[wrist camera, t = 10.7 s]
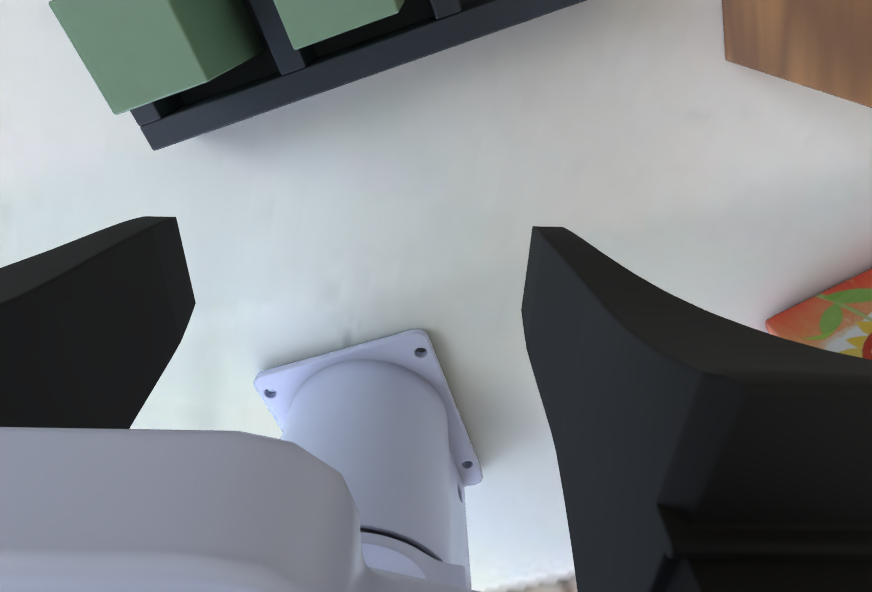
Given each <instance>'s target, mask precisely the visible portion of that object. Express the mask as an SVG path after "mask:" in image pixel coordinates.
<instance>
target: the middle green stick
mask: <svg viewBox="0 0 872 592" xmlns="http://www.w3.org/2000/svg"><path fill="white" fill-rule="evenodd" d="M404 1H405V0H274V3H275V5H276V8H277V10H278V13H279V15H280V17H281V20H282V22H283V25H284V27H285V29H286V32H287V34H288V37H289V39H290V41H291V44H292V46H293V48H294V50H297V49H300V48H303V47H305V46H308V45H311V44H314V43H316V42H319V41H322V40H325V39H327V38H330V37H333V36H336V35H338V34H341V33H344V32H347V31H349V30H352V29H355V28H358V27H360V26H363V25H366V24H369V23H371V22H374V21H377V20H380V19H383V18H385V17H388V16H391V15H394V14H396V13H398V12H399V10H400V8H401V7H402V5H403V3H404Z"/></svg>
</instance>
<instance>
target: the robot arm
mask: <svg viewBox="0 0 872 592" xmlns="http://www.w3.org/2000/svg"><path fill="white" fill-rule="evenodd" d="M194 306H195V299H194V294H193V290H192V285H191V281H190V276H189V272H188V268H187V263H186V259H185V254H184V250H183V246H182V241H181V237H180V232H179V228H178V224H177V219H176V217H151V216H145V217H140V218H135V219H132V220H128V221H125V222H122V223H119V224H116V225H113V226H111V227H108V228H105V229H103V230H100V231H98V232H95V233H92V234H90V235H87V236H85V237H82V238H80V239H77V240H75V241H72V242H70V243H67V244H64V245H62V246H59V247H57V248H54V249H52V250H49V251H46V252H43V253H41V254H38V255H35V256H32V257H30V258H27V259H24V260H21V261H19V262H16V263H13V264H10V265H8V266H5V267H2V268H0V592H479V591H475V590H471V577H470V563H469V549H468V535H467V521H466V507H465V493H464V487H466V486H471V485H475V484H478V483H479V482H481V481H482V479H483V475H482V469H481V467H480V464H479V462H478V459H477V457H476V454H475V452H474V449H473V447H472V444H471V442H470V439H469V437H468V434H467V432H466V429H465V427H464V424H463V422H462V419H461V417H460V414H459V411H458V409H457V406H456V404H455V401H454V399H453V396H452V394H451V391H450V389H449V386H448V384H447V381H446V379H445V376H444V374H443V371H442V369H441V366H440V364H439V361H438V359H437V356H436V354H435V351H434V349H433V346H432V344H431V341H430V339H429V336H428V334H427V333H426V332H425V331H423V330H420V329H413V330H409V331H406V332H402V333H399V334H395V335H391V336H388V337H384V338H380V339H377V340H373V341H370V342H366V343H362V344H359V345H355V346H352V347H348V348H344V349H341V350H337V351H334V352H330V353H326V354H323V355H319V356H315V357H312V358H308V359H305V360H301V361H297V362H294V363H290V364H287V365H283V366H279V367H276V368H272V369H269V370H265V371H262V372H260V373H258V374H257V375H256V377H255V380H254V386H255V388H256V390H257V391H258V393H259V395H260V396H261V398H262V399H263V401H264V403H265V404H266V406H267V407H268V409H269V411H270V412H271V414H272V415H273V417H274V419H275V420H276V422H277V424H278V425H279V427H280V428H281V430H282V432H283V433H282V436H281V439H277V438H272V437H267V436H262V435H257V434H252V433H247V432H242V431H214V430H151V429H129V428H130V426H131V425H132V423H133V421H134V420H135V418H136V416H137V415H138V413H139V411H140V410H141V408H142V406H143V405H144V403H145V401H146V400H147V398H148V396H149V395H150V393H151V391H152V390H153V388H154V386H155V385H156V383H157V381H158V380H159V378H160V376H161V375H162V373H163V372H164V370H165V368H166V366H167V365H168V363H169V361H170V360H171V358H172V356H173V354H174V353H175V351H176V349H177V347H178V346H179V344H180V342H181V340H182V338H183V335H184V333H185V330H186V328H187V325H188V323H189V320H190V317H191V315H192V312H193V309H194ZM521 311H522V319H523V327H524V334H525V341H526V348H527V352H528V355H529V359H530V362H531V366H532V369H533V372H534V376H535V379H536V383H537V386H538V389H539V393H540V396H541V399H542V403H543V406H544V409H545V413H546V416H547V419H548V423H549V426H550V429H551V433H552V437H553V441H554V445H555V449H556V454H557V459H558V465H559V471H560V477H561V482H562V488H563V494H564V500H565V506H566V513H567V519H568V526H569V532H570V539H571V545H572V553H573V560H574V567H575V575H576V582H577V589H578V592H872V360H870V359H866V358H861V357H856V356H852V355H847V354H842V353H837V352H833V351H828V350H824V349H820V348H817V347H813V346H810V345H806V344H802V343H799V342H795V341H792V340H788V339H784V338H781V337H778V336H775V335H771V334H768V333H765V332H762V331H759V330H756V329H753V328H750V327H747V326H745V325H742V324H739V323H737V322H734V321H731V320H728V319H726V318H723V317H720V316H718V315H715V314H713V313H711V312H708V311H706V310H703V309H701V308H699V307H697V306H695V305H693V304H690V303H688V302H686V301H684V300H682V299H680V298H678V297H676V296H673V295H671V294H669V293H668V292H666V291H664V290H662V289H660V288H658V287H656V286H655V285H653V284H651V283H649V282H648V281H646V280H644V279H643V278H641V277H639V276H637V275H636V274H634V273H632V272H631V271H629V270H628V269H626V268H625V267H623V266H621V265H620V264H618V263H617V262H615V261H614V260H612V259H611V258H609V257H608V256H606V255H605V254H603V253H602V252H601V251H599V250H598V249H596V248H595V247H593V246H592V245H590V244H589V243H588V242H586V241H585V240H583V239H582V238H580V237H579V236H577V235H576V234H574V233H573V232H571V231H569V230H568V229H565V228H563V227H539V226H533V228H532V235H531V243H530V250H529V258H528V265H527V272H526V280H525V287H524V295H523V302H522V309H521ZM417 348H424V349H426V351H424V352H418V351H416V349H417ZM267 389H273V390H274V391H275V392H270V391H268V390H267ZM464 461H469V462H464Z"/></svg>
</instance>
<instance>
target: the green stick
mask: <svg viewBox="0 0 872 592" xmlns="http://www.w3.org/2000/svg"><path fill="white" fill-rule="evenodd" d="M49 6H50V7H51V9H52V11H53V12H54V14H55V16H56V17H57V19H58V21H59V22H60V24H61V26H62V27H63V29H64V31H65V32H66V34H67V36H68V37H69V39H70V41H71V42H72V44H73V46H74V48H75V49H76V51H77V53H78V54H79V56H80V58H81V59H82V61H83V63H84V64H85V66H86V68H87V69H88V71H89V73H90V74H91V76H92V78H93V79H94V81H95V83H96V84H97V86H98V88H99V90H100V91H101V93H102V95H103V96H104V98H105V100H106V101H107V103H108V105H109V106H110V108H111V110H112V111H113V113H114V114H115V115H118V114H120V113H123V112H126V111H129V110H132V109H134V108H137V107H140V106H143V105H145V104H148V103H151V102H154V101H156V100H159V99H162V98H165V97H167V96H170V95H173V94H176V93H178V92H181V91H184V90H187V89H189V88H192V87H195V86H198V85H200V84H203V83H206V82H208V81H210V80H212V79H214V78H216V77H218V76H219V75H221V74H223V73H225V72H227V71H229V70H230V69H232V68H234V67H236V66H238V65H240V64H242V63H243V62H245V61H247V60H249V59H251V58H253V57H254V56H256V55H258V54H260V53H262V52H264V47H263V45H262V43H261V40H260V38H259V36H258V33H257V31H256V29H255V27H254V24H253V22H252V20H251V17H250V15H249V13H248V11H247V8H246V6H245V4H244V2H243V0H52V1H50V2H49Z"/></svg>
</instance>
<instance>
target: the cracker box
mask: <svg viewBox="0 0 872 592" xmlns="http://www.w3.org/2000/svg"><path fill="white" fill-rule="evenodd" d="M765 324H766V328H767V330H768V332H769V334H771V335H775V336H778V337H781V338H784V339H788V340H792V341H795V342H799V343H802V344H806V345H810V346H813V347H817V348H820V349H824V350H828V351H833V352H837V353H842V354H847V355H852V356H856V357H861V358H866V359H870V360H872V268H871V269H869V270H867V271H865V272H863V273H861V274H859V275H857V276H855V277H853V278H851V279H849V280H847V281H844V282H842V283H840V284H838V285H836V286H834V287H832V288H830V289H828V290H826V291H824V292H822V293H820V294H818V295H816V296H814V297H811V298H809V299H807V300H805V301H803V302H801V303H799V304H797V305H795V306H793V307H791V308H789V309H787V310H785V311H783V312H781V313H778V314H776V315H774V316H773V317H771V318H769V319H767V320H766V321H765Z"/></svg>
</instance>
